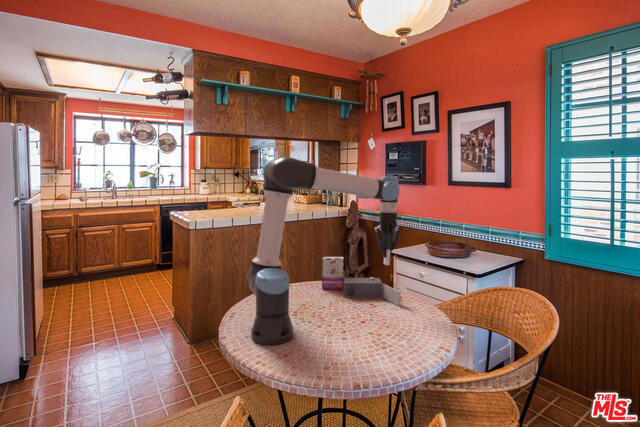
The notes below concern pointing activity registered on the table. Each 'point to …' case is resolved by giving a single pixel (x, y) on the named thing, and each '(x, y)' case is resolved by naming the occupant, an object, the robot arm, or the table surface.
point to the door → (391, 295)
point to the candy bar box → (332, 273)
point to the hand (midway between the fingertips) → (386, 264)
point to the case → (362, 287)
